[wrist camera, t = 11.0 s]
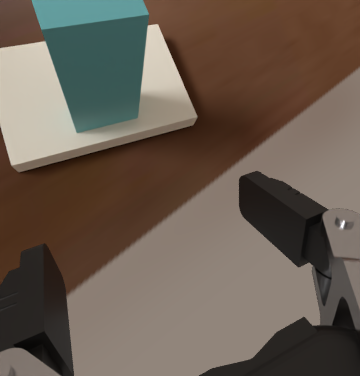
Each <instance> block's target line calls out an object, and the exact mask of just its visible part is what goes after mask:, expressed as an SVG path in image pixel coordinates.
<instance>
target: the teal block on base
mask: <svg viewBox="0 0 360 376" xmlns="http://www.w3.org/2000/svg"><path fill="white" fill-rule="evenodd" d="M32 3H33V6H34V9H35V12H36V15H37V18H38V21H39V24H40V27H41V30H42V33H43V36H44V39H45V41H44V42H38V43H31V44H25V45H18V46H12V47H5V48H0V127H1V130H2V134H3V137H4V141H5V145H6V148H7V152H8V155H9V159H10V162H11V166H12V167H13V168H14V169H16V170H17V171H18V172H22V171H26V170H30V169H33V168H37V167H41V166H44V165H48V164H52V163H56V162H59V161H63V160H67V159H70V158H74V157H78V156H81V155H85V154H89V153H92V152H96V151H100V150H104V149H107V148H111V147H115V146H118V145H122V144H126V143H129V142H133V141H137V140H141V139H144V138H148V137H152V136H155V135H159V134H163V133H166V132H170V131H174V130H178V129H181V128H185V127H189V126H192V125H194V123H195V121H196V119H197V114H196V112H195V110H194V107H193V105H192V103H191V101H190V98H189V96H188V94H187V91H186V89H185V87H184V84H183V82H182V80H181V77H180V75H179V73H178V70H177V68H176V66H175V63H174V61H173V59H172V56H171V54H170V52H169V49H168V47H167V45H166V42H165V40H164V38H163V35H162V33H161V31H160V29H159V26H158V24H156V25H149V26H148V19H149V14H148V11H147V9H146V7H145V4H144V2H143V0H32Z"/></svg>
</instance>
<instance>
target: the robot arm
mask: <svg viewBox="0 0 360 376" xmlns="http://www.w3.org/2000/svg"><path fill="white" fill-rule="evenodd" d="M239 207H240V211H241V214H242V215H243V217H244V218H245V219H246V220H247V221H248V222H249V223H250V224H251V225H252V226H253V227H255V228H256V229H257V230H258V231H259V232H260V233H261V234H263V236H264V237H266V238H267V239H268V240H269V241H270V242H271V243H272V244H273V245H274V246H275V247H277V248H278V249H279V250H280V251H281V252H282V253H283V254H284V255H285V256H286V257H288V258H289V259H290V260H291V261H292V262H293V263H294V264H295V265H296V266H297V267H301V266H303V265H305V264H307V263H311V264H312V265H313V267H312V274H313V279H314V285H315V290H316V295H317V300H318V305H319V310H320V325H317V326H312V325H311V324H310V323H309V322H308V320H307V319H306V318H305V317H303V318H301V319H299V320H298V321H296V322H294V323H293V324H290V325H289V326H287V327H285V328H283V329H282V330H280V331H278V332H277V333H276V334H275V335H274V336H273V337H272V338H271V339H270V340H269V341H268V342H267V343H266V344H265V345H264V347H263V348H262V349H261V350H260V351H259V352H258V353H257V354H256V355H255V356H254V357H253V358H252V359H250V360H246V361H242V362H238V363H233V364H229V365H224V366H220V367H216V368H212V369H210V370H208V371H207V372H205V373H203V374H201V375H199V376H360V214H359V213H356V212H354V211H351V210H348V209H340V208H338V209H331V210H328V209H327V208H325V207H323V206H322V205H320V204H318V203H317V202H315V201H313V200H312V199H310V198H309V197H307V196H305V195H304V194H302V193H301V194H300V192H299V191H297V190H296V189H293V188H292V187H291V186H289V185H288V184H286V183H284V182H283V181H279V180H276V179H273V178H268V177H267V176H265V175H264V174H262V173H261V172H258V171H255V172H252V173H249V174H246V175H243V176H241V177H240V179H239ZM0 376H74V371H73V360H72V351H71V340H70V330H69V320H68V310H67V299H66V289H65V284H64V280H63V277H62V275H61V272H60V270H59V268H58V266H57V264H56V262H55V260H54V258H53V256H52V254H51V252H50V250H49V248H48V247H47V245H46V244H45V243H44V244H41V245H38V246H36V247H33V248H30V249H27V250H24V251H22V252H21V259H20V268H17V269H14V270H11V271H9V272H8V274H7V276H6V277H5V279H4V280H3V282H2V284H1V285H0Z"/></svg>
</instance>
